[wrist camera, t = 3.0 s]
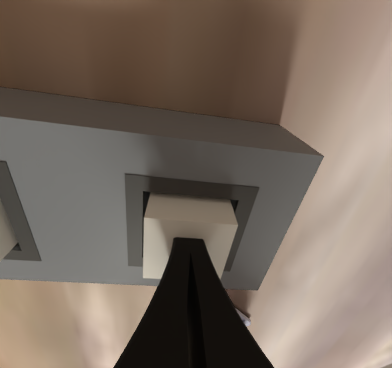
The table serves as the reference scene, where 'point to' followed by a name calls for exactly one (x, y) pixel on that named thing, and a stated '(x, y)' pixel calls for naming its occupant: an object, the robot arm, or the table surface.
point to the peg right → (186, 228)
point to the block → (137, 184)
